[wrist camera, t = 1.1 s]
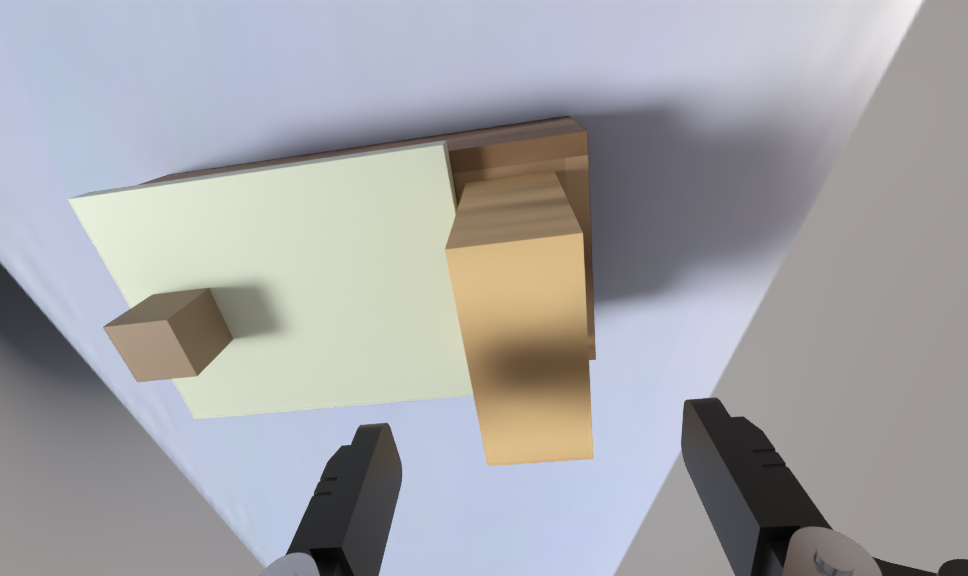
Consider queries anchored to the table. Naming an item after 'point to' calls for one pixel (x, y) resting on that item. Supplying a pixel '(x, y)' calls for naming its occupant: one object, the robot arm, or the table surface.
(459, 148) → the wooden box
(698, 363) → the table surface
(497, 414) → the key
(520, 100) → the table surface
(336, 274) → the lid
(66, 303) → the table surface
